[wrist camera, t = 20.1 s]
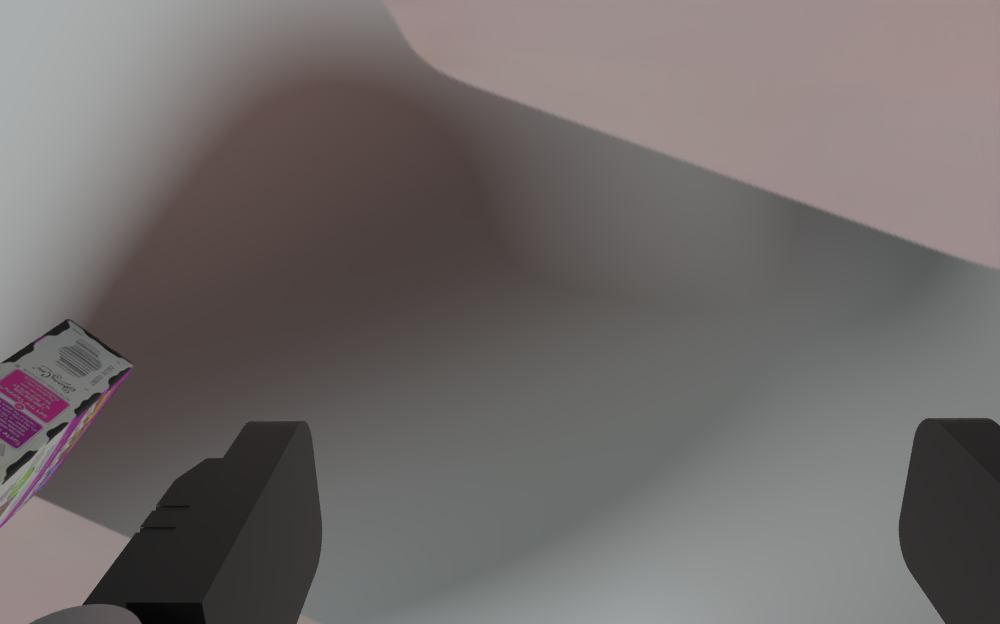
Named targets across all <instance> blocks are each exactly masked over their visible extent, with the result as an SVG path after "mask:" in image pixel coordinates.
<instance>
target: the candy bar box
mask: <svg viewBox="0 0 1000 624" xmlns="http://www.w3.org/2000/svg"><path fill="white" fill-rule="evenodd" d="M133 367H134V365H133V364H132V363H131V362H130V361H128V360H127V359H126V358H124V357H123V356H121V355H120V354H119V353H117V352H116V351H114V350H112V349H111V348H109V347H108V346H107V345H105V344H104V343H102V342H101V341H100V340H99V339H98V338H96V337H95V336H93V335H92V334H91V333H89V332H88V331H87V330H85V329H84V328H82V327H81V326H79V325H78V324H76V323H74V322H73V321H72V320H70V319H66V320H65V321H64V322H62V323H61V324H59V325H58V326H56V327H55V328H53V329H52V330H50V331H49V332H47V333H46V334H44V335H43V336H42V337H40V338H38V339H37V340H35V341H34V342H32V343H30V344H29V345H28V346H26V347H25V348H23V349H22V350H20V351H19V352H17V353H16V354H14V355H13V356H11V357H10V358H8V359H7V360H5V361H3V362H2V363H0V528H1V527H2V526H3V525H4V524H5V523H6V522H7V521H8V520H9V519H10V518H11V517H12V516H13V515H14V514H15V513H16V512H17V511H18V510H19V509H20V508H21V507H22V506H23V505H24V504H25V503H26V502H27V501H28V500H30V499H31V498H32V497H33V496H34V495H35V494H36V493H37V492H38V491H39V490H40V489H41V488H42V487H43V486H44V485H45V484H46V483H47V482H48V481H49V480H50V479H51V477H52V476H53V474H54V473H55V472H56V470H57V469H58V468H59V467H60V465H61V463H62V462H63V461H64V460H65V458H66V457H67V456H68V454H69V453H70V452H71V450H72V449H73V448H74V446H75V445H76V444H77V442H78V440H79V439H80V438H81V437H82V435H83V434H84V433H85V431H86V430H87V429H88V427H89V426H90V425H91V423H92V422H93V421H94V419H95V418H96V417H97V415H98V414H99V413H100V411H101V410H102V408H103V407H104V406H105V405H106V403H107V402H108V401H109V399H110V398H111V397H112V395H113V394H114V393H115V391H116V390H117V388H118V387H119V386H120V384H121V383H122V382H123V380H124V379H125V378H126V377H127V375H128V374H129V373H130V371H131V370H132V369H133Z"/></svg>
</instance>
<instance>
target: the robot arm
mask: <svg viewBox="0 0 1000 624" xmlns="http://www.w3.org/2000/svg"><path fill="white" fill-rule="evenodd" d="M899 538H900V546H901V551H902V554H903V557H904V560H905V563H906V565H907V567H908V569H909V571H910V572H911V574H912V575H913V577H914V578H915V580H916V581H917V583H918V584H919V585H920V587H921V588H922V590H923V591H924V593H925V594H926V596H927V597H928V599H929V600H930V602H931V603H932V604H933V606H934V607H935V609H936V610H937V612H938V613H939V615H940V616H941V618H942V619H943V621H944V622H945V624H1000V426H999V425H998V424H997V423H996V422H994V421H993V420H991V419H988V418H928V419H925V420H923V421H922V422H921V423H920V424H919V426H918V428H917V430H916V433H915V437H914V442H913V447H912V453H911V458H910V464H909V470H908V475H907V481H906V486H905V492H904V497H903V503H902V508H901V515H900V520H899ZM321 543H322V520H321V511H320V502H319V494H318V487H317V478H316V469H315V460H314V452H313V444H312V436H311V432H310V428H309V426H308V424H307V423H306V422H305V421H250V422H248V423H246V425H245V426H244V427H243V429H242V430H241V432H240V433H239V435H238V436H237V438H236V439H235V441H234V442H233V444H232V445H231V447H230V448H229V450H228V451H227V453H226V454H225V456H224V457H223V458H207V459H205V460H204V461H202V462H201V463H199V464H198V465H196V466H195V467H193V468H192V469H190V470H189V471H188V472H186V473H185V474H183V475H182V476H180V477H179V478H177V479H176V480H175V481H174V482H173V484H172V485H171V486H170V488H169V489H168V490H167V492H166V493H165V494H164V496H163V497H162V499H161V500H160V501H159V502H158V504H157V505H156V511H152V512H151V513H150V515H149V516H148V517H147V519H146V520H145V521H144V523H143V524H142V525H141V527H140V533H135V535H134V536H133V538H132V539H131V540H130V541H129V543H128V544H127V545H126V547H125V548H124V549H123V551H122V552H121V554H120V555H119V556H118V558H117V559H116V560H115V562H114V563H113V564H112V566H111V567H110V568H109V570H108V571H107V572H106V574H105V575H104V576H103V578H102V579H101V580H100V582H99V583H98V584H97V586H96V587H95V589H94V590H93V591H92V593H91V594H90V595H89V597H88V598H87V599H86V601H85V602H84V603H83V605H82V606H76V607H71V608H67V609H63V610H60V611H57V612H54V613H51V614H49V615H46V616H44V617H42V618H39V619H37V620H35V621H33V622H31V623H29V624H297V621H298V618H299V616H300V613H301V610H302V608H303V605H304V602H305V599H306V597H307V594H308V591H309V589H310V586H311V583H312V581H313V578H314V575H315V573H316V569H317V566H318V563H319V558H320V552H321Z"/></svg>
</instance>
